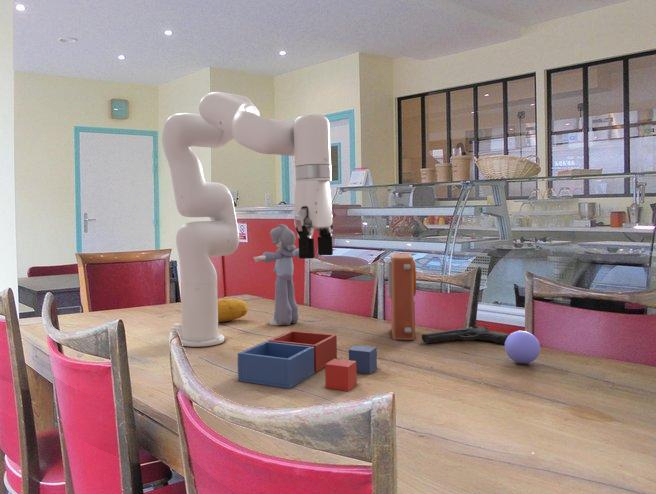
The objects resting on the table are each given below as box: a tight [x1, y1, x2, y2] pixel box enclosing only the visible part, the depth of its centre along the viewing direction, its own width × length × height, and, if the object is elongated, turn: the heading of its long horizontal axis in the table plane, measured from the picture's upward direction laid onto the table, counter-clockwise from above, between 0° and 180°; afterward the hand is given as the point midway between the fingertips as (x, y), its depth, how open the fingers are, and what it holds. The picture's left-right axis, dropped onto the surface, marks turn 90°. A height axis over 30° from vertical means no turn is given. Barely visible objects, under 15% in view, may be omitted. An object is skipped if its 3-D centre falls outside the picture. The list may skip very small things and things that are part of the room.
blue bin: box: [237, 341, 315, 389], centre depth 118 cm, size 12×12×6 cm
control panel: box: [387, 253, 417, 341], centre depth 155 cm, size 21×7×15 cm
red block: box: [324, 358, 358, 392], centre depth 111 cm, size 5×5×5 cm
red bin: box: [267, 330, 338, 373], centre depth 129 cm, size 12×12×6 cm
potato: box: [218, 298, 249, 323], centre depth 179 cm, size 8×14×7 cm, turn 108°
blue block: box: [348, 344, 378, 375], centre depth 122 cm, size 5×5×5 cm
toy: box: [253, 223, 299, 326], centre depth 174 cm, size 30×8×30 cm, turn 144°
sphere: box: [504, 330, 541, 365], centre depth 125 cm, size 7×7×7 cm
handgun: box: [421, 325, 511, 345], centre depth 145 cm, size 3×20×12 cm
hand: (316, 256), depth 121 cm, fingers open, 9 cm apart
